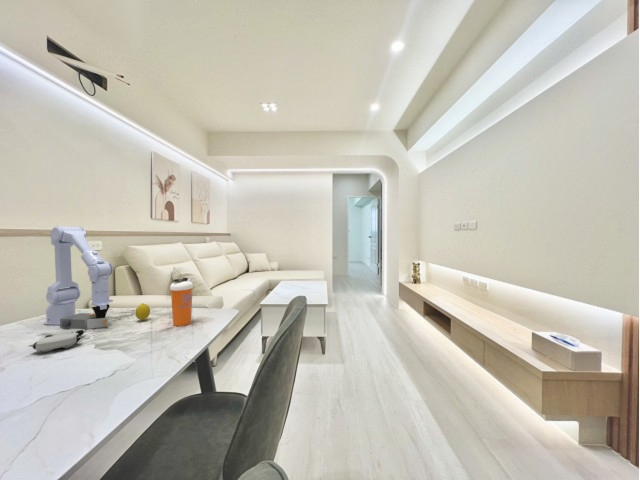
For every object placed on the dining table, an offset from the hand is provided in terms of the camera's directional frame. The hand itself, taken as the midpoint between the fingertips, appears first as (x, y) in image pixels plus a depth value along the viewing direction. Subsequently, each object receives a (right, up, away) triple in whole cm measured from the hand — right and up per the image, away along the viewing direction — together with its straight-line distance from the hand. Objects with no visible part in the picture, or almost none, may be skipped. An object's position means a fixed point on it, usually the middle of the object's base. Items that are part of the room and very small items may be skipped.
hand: (100, 322), depth 107 cm
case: (-10, -2, +2) cm, 10 cm away
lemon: (+13, -2, +8) cm, 15 cm away
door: (0, -2, -2) cm, 2 cm away
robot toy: (+2, -2, -18) cm, 19 cm away
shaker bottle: (+34, -2, +3) cm, 34 cm away
